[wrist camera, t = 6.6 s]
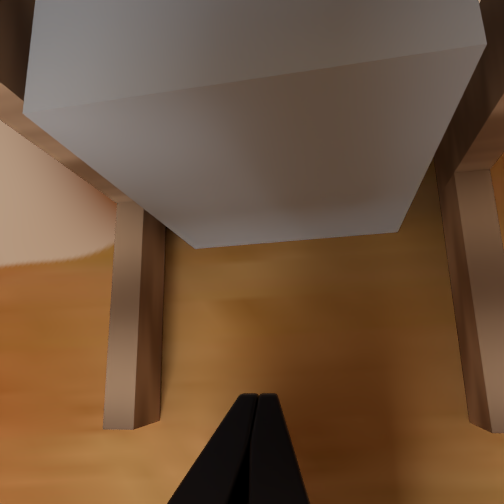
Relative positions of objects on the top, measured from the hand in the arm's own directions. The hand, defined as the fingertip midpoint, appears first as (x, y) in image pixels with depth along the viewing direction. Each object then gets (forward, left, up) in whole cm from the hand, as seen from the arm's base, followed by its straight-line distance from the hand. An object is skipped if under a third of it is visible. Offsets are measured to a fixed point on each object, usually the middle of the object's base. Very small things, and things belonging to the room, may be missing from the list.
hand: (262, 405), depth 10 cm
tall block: (+6, -10, -12) cm, 17 cm away
